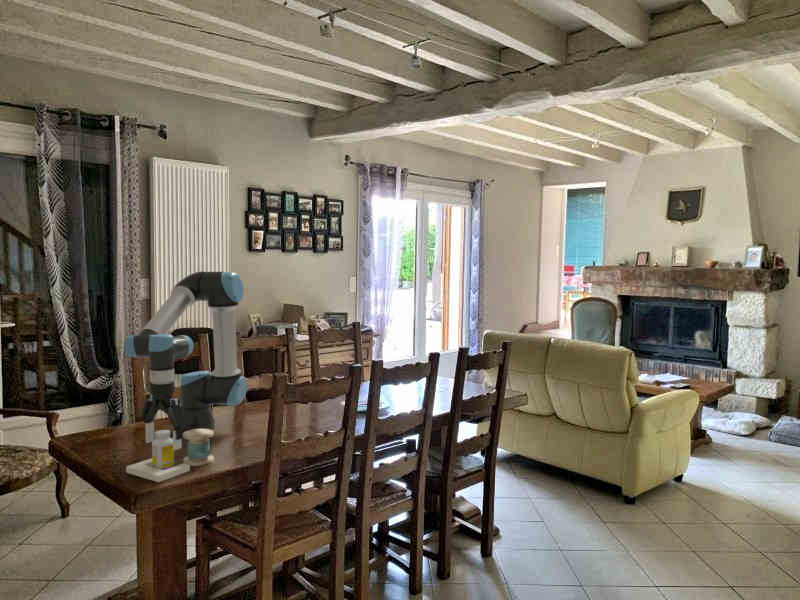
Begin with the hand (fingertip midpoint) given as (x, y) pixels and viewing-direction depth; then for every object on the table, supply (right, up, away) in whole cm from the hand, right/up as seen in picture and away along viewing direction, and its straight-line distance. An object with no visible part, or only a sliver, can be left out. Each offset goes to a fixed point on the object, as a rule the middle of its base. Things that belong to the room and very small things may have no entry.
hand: (163, 445), depth 196 cm
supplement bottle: (0, -8, 0) cm, 8 cm away
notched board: (-1, -8, -2) cm, 8 cm away
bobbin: (+9, -8, +9) cm, 15 cm away
